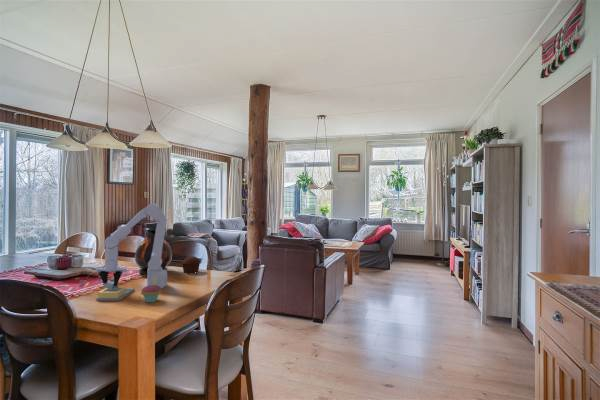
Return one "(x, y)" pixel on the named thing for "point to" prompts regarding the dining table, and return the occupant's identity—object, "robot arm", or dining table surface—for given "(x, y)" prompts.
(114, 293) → the dock
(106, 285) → the cart
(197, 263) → the muffin
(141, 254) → the amphora vase
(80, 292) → the dining table surface
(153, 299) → the cupcake
